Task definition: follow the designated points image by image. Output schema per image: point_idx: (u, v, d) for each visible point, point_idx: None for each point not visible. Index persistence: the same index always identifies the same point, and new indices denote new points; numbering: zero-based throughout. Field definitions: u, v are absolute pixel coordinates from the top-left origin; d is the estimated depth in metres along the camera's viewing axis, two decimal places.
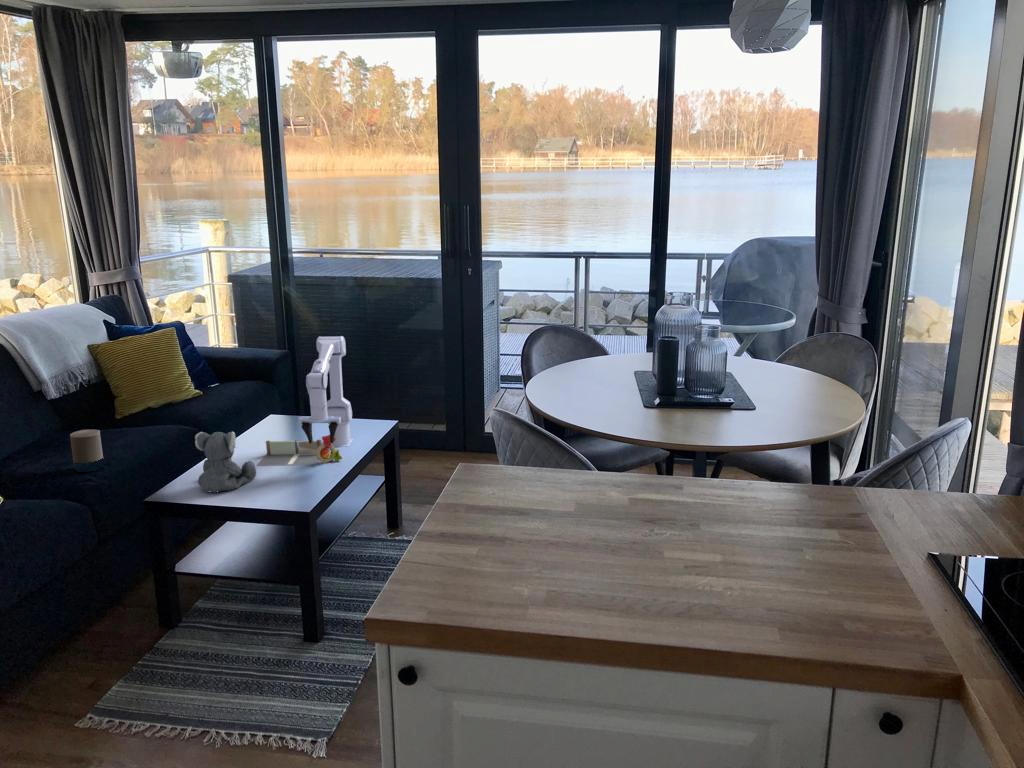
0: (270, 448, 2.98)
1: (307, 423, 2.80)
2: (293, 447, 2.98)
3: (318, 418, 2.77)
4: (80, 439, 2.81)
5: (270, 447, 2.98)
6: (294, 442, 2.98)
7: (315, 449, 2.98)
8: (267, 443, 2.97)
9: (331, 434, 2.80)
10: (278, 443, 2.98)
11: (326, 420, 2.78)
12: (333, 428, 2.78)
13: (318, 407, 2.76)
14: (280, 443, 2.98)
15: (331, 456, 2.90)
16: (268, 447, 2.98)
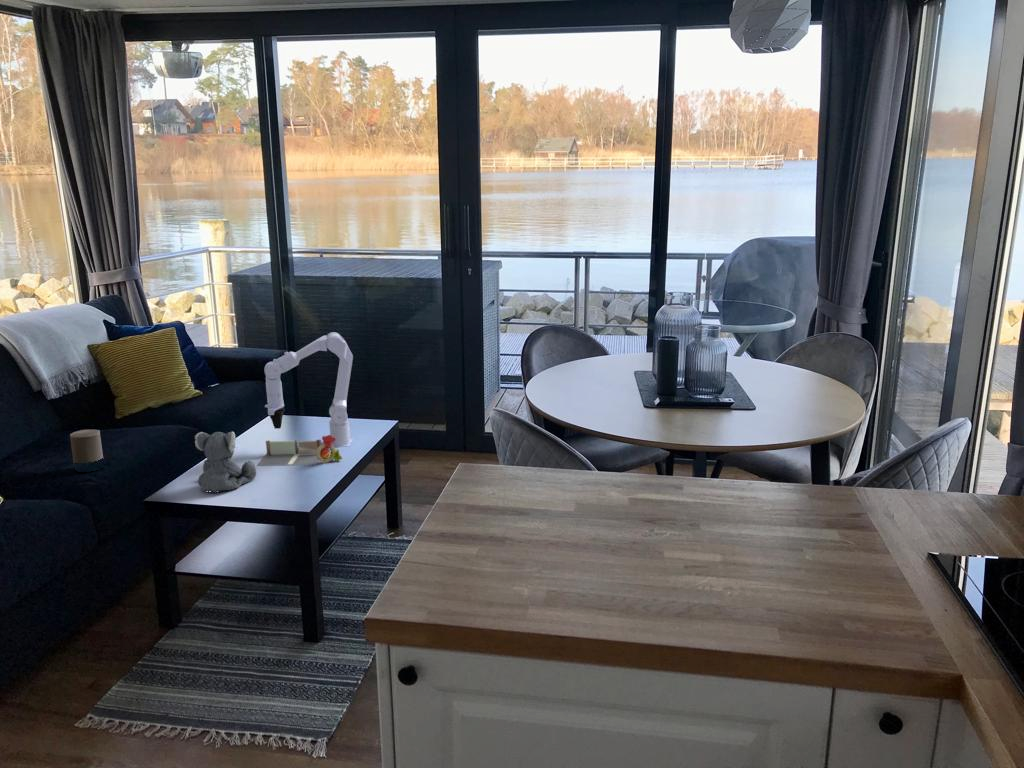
0: (270, 448, 2.98)
1: None
2: (293, 447, 2.98)
3: None
4: (80, 439, 2.81)
5: (270, 447, 2.98)
6: (294, 442, 2.98)
7: (315, 449, 2.98)
8: (267, 443, 2.97)
9: None
10: (278, 443, 2.98)
11: (268, 408, 2.97)
12: None
13: (267, 394, 2.97)
14: (280, 443, 2.98)
15: (331, 456, 2.90)
16: (268, 447, 2.98)
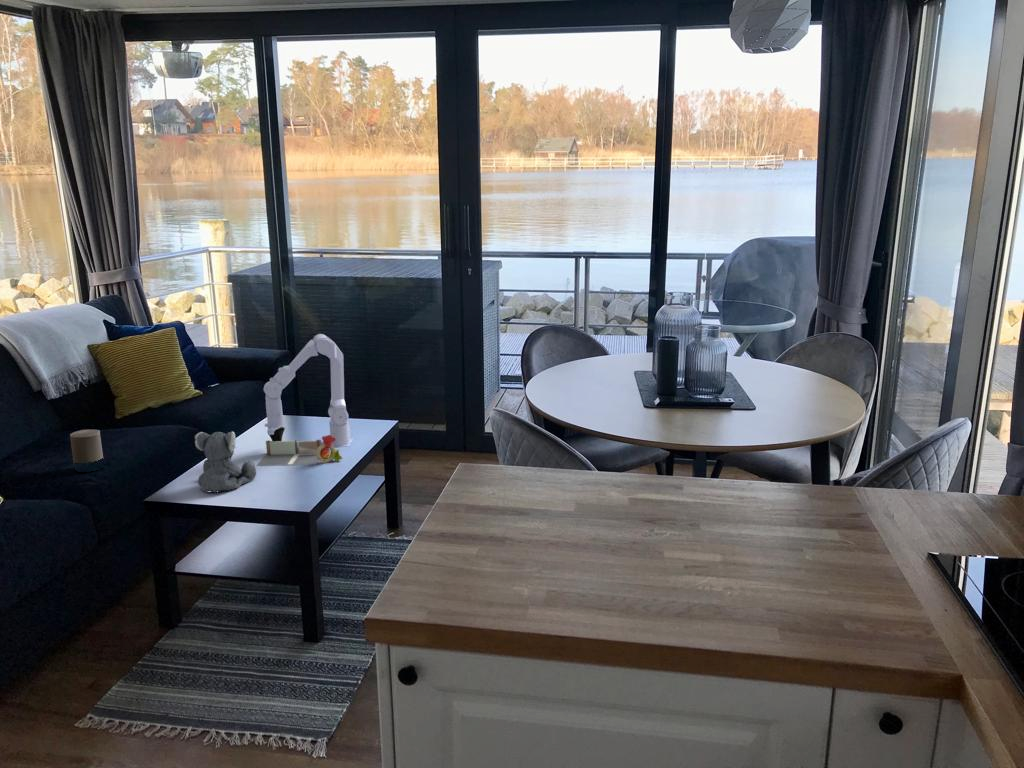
0: (270, 448, 2.98)
1: None
2: (293, 447, 2.98)
3: None
4: (80, 439, 2.81)
5: (270, 447, 2.98)
6: (294, 442, 2.98)
7: (315, 449, 2.98)
8: (267, 443, 2.97)
9: None
10: (278, 443, 2.98)
11: None
12: None
13: (267, 413, 2.97)
14: (280, 443, 2.98)
15: (331, 456, 2.90)
16: (268, 447, 2.98)
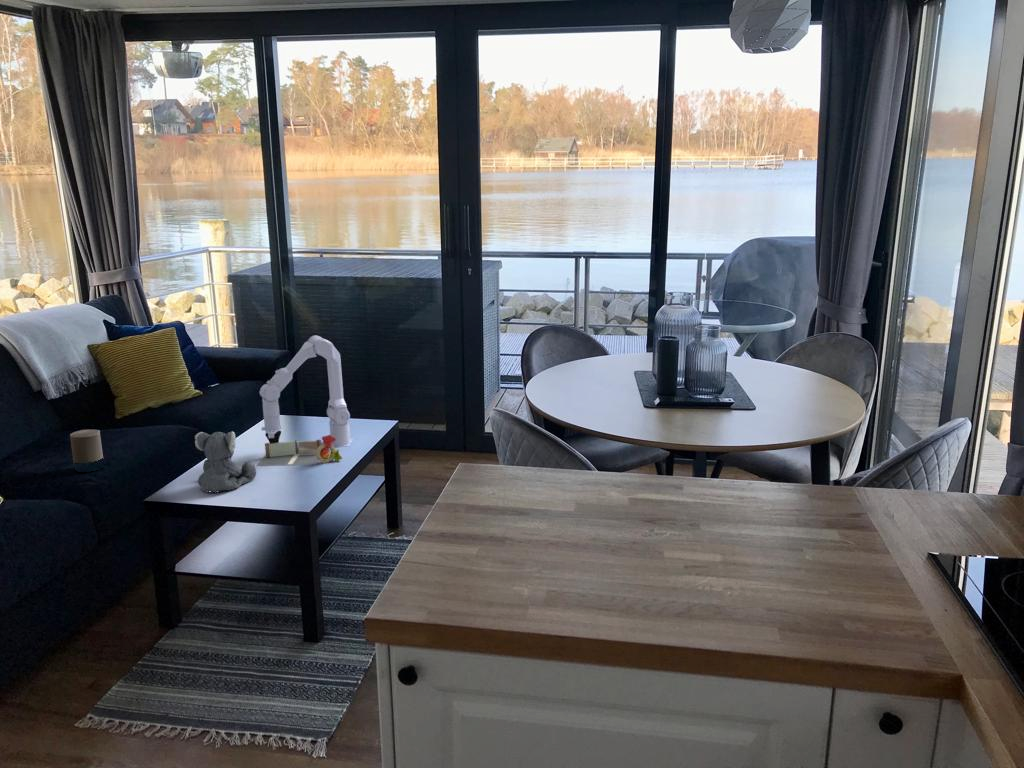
0: (269, 450, 2.95)
1: None
2: (293, 447, 2.98)
3: None
4: (80, 439, 2.81)
5: (269, 449, 2.95)
6: (294, 442, 2.97)
7: (315, 449, 2.98)
8: (266, 445, 2.95)
9: None
10: (278, 444, 2.96)
11: (266, 430, 2.92)
12: None
13: (264, 417, 2.92)
14: (280, 444, 2.96)
15: (331, 456, 2.90)
16: (267, 449, 2.95)
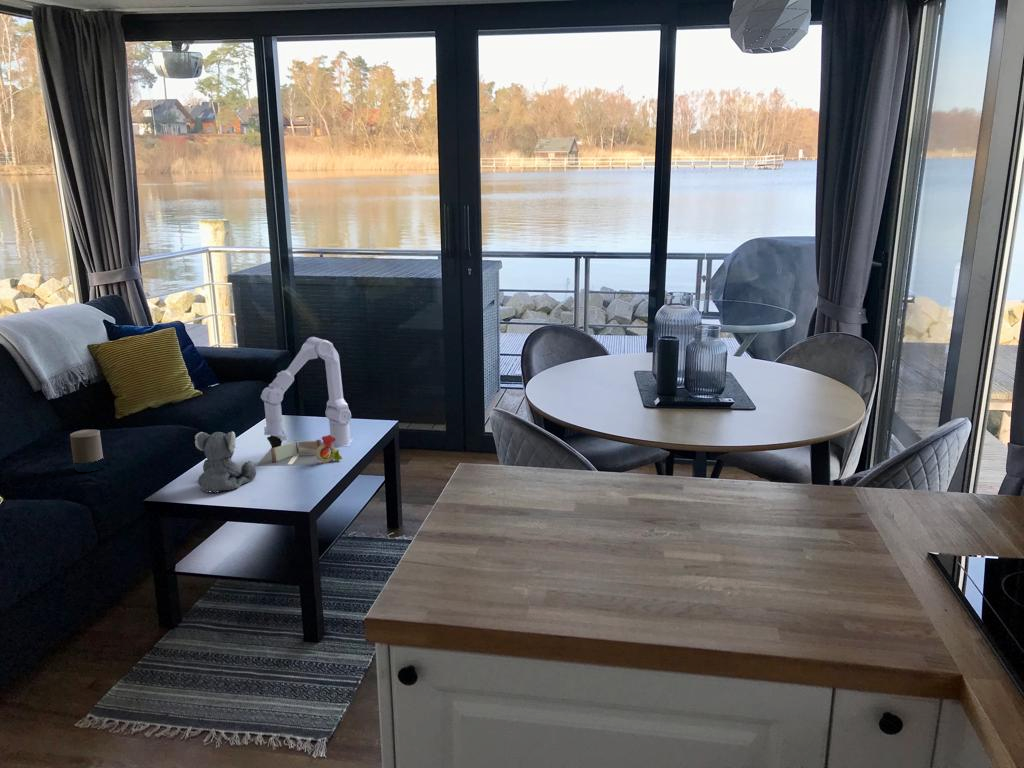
0: (276, 454, 2.91)
1: None
2: (295, 448, 2.97)
3: (268, 431, 2.89)
4: (80, 439, 2.81)
5: (275, 454, 2.91)
6: (295, 442, 2.97)
7: (315, 449, 2.98)
8: (274, 450, 2.89)
9: (271, 446, 2.92)
10: (282, 447, 2.93)
11: (273, 434, 2.88)
12: (270, 441, 2.90)
13: (267, 420, 2.88)
14: (284, 447, 2.93)
15: (331, 456, 2.90)
16: (275, 454, 2.90)
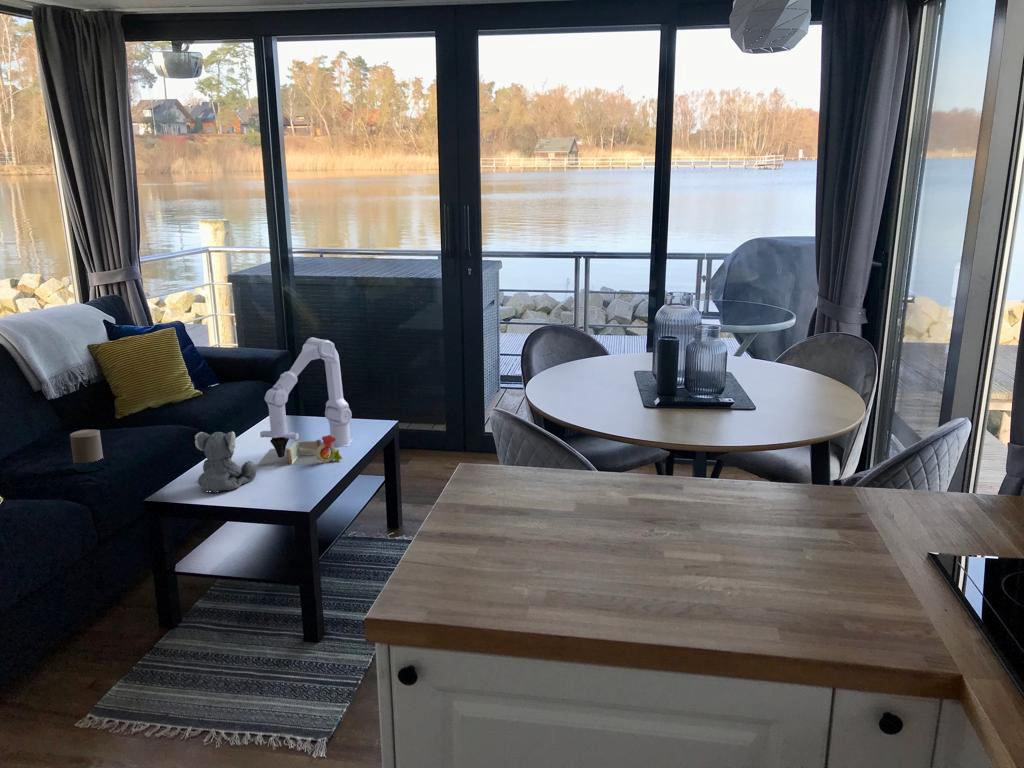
0: (291, 456, 2.89)
1: None
2: (297, 447, 2.98)
3: (275, 433, 2.86)
4: (80, 439, 2.81)
5: (290, 455, 2.89)
6: None
7: (315, 449, 2.98)
8: (290, 451, 2.88)
9: (279, 449, 2.88)
10: (293, 448, 2.92)
11: (283, 435, 2.86)
12: (281, 443, 2.87)
13: (272, 422, 2.85)
14: (293, 447, 2.93)
15: (331, 456, 2.90)
16: (291, 455, 2.88)
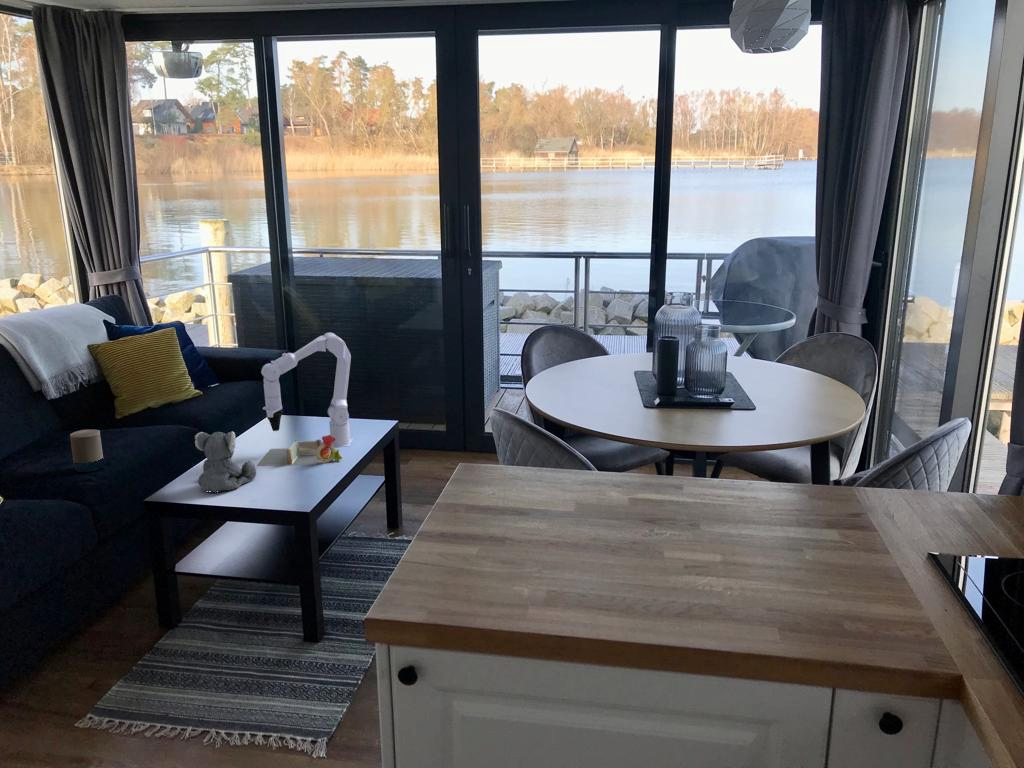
0: (291, 456, 2.89)
1: None
2: (297, 447, 2.98)
3: None
4: (80, 439, 2.81)
5: (290, 455, 2.89)
6: None
7: (315, 449, 2.98)
8: (290, 451, 2.88)
9: None
10: (293, 448, 2.92)
11: (266, 410, 2.94)
12: None
13: (265, 396, 2.94)
14: (293, 447, 2.93)
15: (331, 456, 2.90)
16: (291, 455, 2.88)
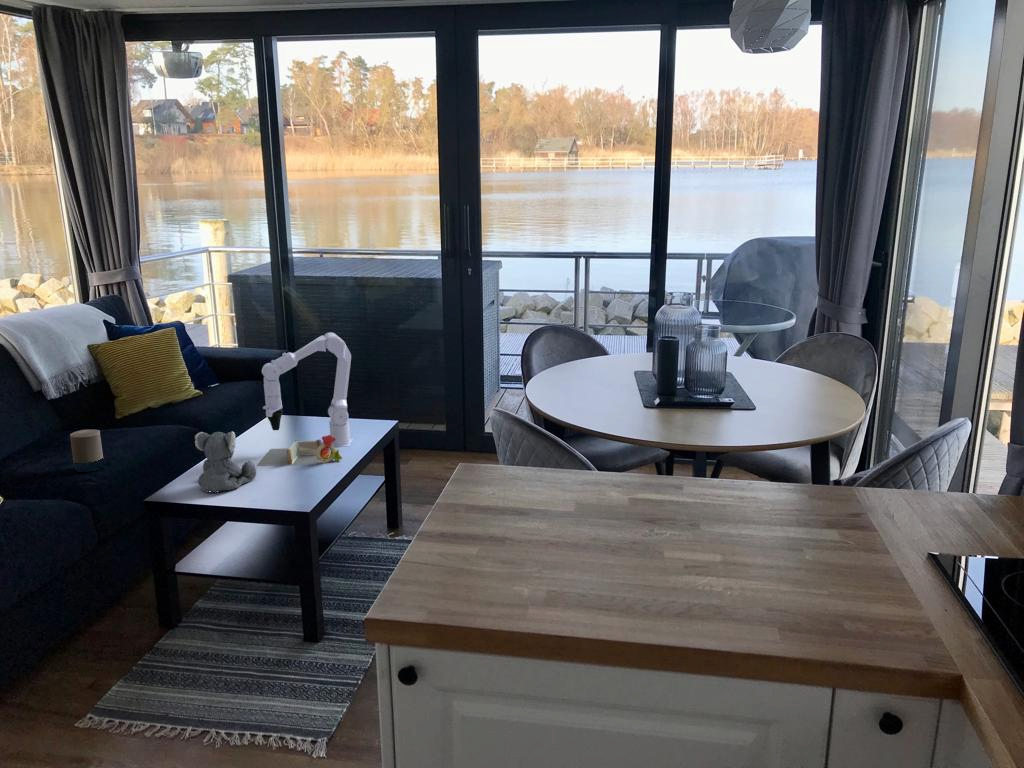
0: (291, 456, 2.89)
1: None
2: (297, 447, 2.98)
3: None
4: (80, 439, 2.81)
5: (290, 455, 2.89)
6: None
7: (315, 449, 2.98)
8: (290, 451, 2.88)
9: None
10: (293, 448, 2.92)
11: (266, 409, 2.95)
12: None
13: (265, 395, 2.95)
14: (293, 447, 2.93)
15: (331, 456, 2.90)
16: (291, 455, 2.88)
